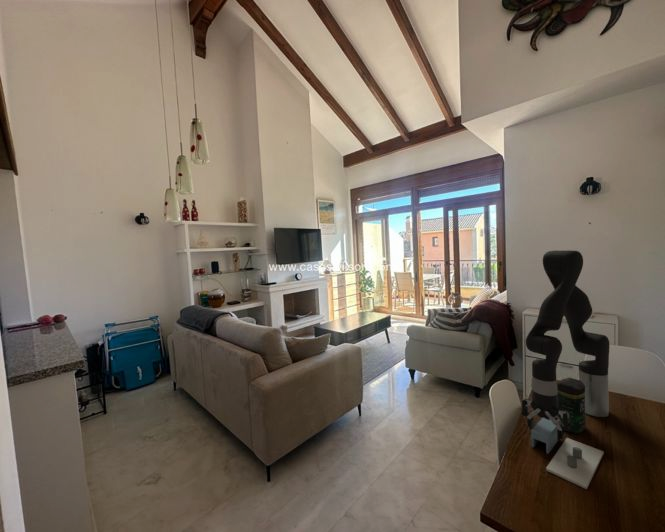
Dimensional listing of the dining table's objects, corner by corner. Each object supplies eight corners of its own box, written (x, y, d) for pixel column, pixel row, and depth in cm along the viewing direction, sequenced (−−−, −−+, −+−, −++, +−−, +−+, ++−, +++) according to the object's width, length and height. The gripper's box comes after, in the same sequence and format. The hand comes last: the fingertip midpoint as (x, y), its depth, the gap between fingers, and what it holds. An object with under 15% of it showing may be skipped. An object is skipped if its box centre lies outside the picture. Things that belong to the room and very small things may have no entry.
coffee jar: (578, 437, 109) (577, 388, 108) (553, 426, 115) (552, 380, 114) (589, 427, 113) (588, 380, 112) (564, 418, 120) (563, 373, 119)
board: (566, 439, 107) (566, 431, 107) (603, 453, 100) (603, 444, 99) (546, 470, 94) (545, 460, 94) (586, 489, 86) (586, 478, 86)
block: (543, 432, 112) (542, 417, 112) (559, 438, 108) (559, 422, 108) (531, 446, 105) (531, 430, 105) (548, 454, 101) (547, 437, 101)
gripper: (572, 393, 102) (572, 438, 103) (525, 380, 114) (526, 421, 114) (565, 400, 98) (566, 448, 98) (517, 386, 109) (519, 429, 110)
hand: (545, 433), depth 106 cm, fingers open, 8 cm apart
